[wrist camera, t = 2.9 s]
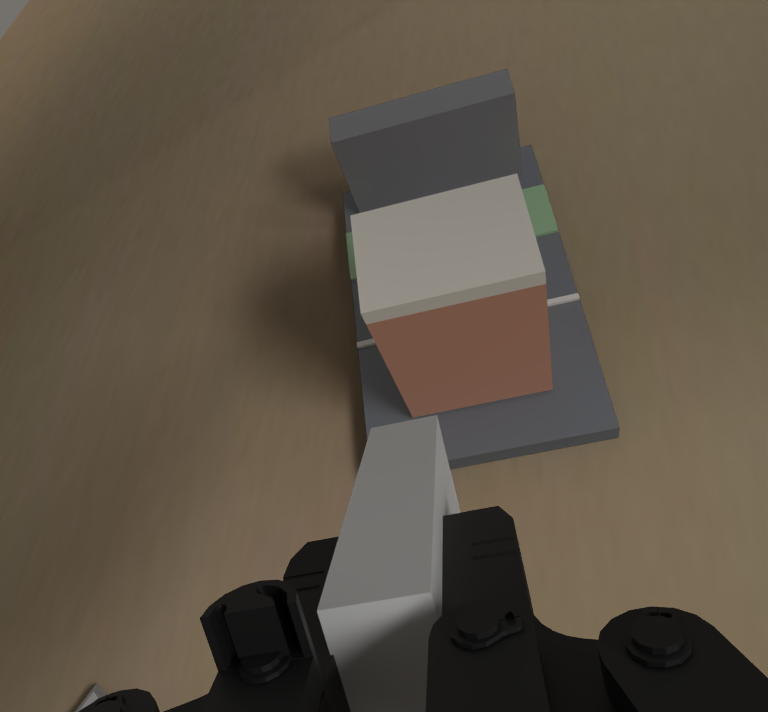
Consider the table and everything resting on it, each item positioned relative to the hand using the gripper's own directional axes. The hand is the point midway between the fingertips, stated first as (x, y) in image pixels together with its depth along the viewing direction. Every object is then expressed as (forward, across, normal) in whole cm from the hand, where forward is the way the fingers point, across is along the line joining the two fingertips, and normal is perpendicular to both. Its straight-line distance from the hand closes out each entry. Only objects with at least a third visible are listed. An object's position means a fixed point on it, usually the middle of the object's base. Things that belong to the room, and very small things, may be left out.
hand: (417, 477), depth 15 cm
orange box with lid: (+20, +1, -3) cm, 20 cm away
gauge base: (+24, +1, -1) cm, 24 cm away
